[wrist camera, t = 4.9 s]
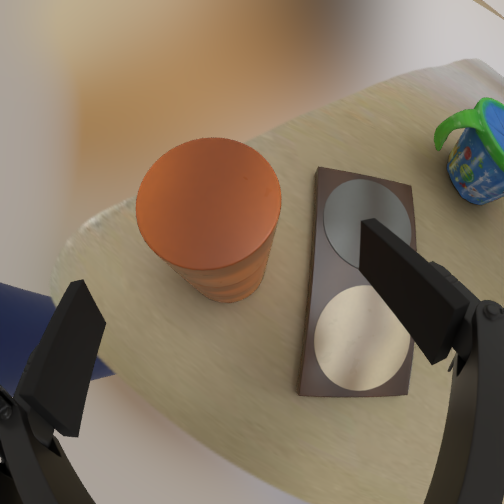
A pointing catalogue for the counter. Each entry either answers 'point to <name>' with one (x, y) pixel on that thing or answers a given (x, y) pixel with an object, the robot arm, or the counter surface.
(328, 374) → the board
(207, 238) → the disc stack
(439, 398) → the counter surface
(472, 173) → the snack cup
